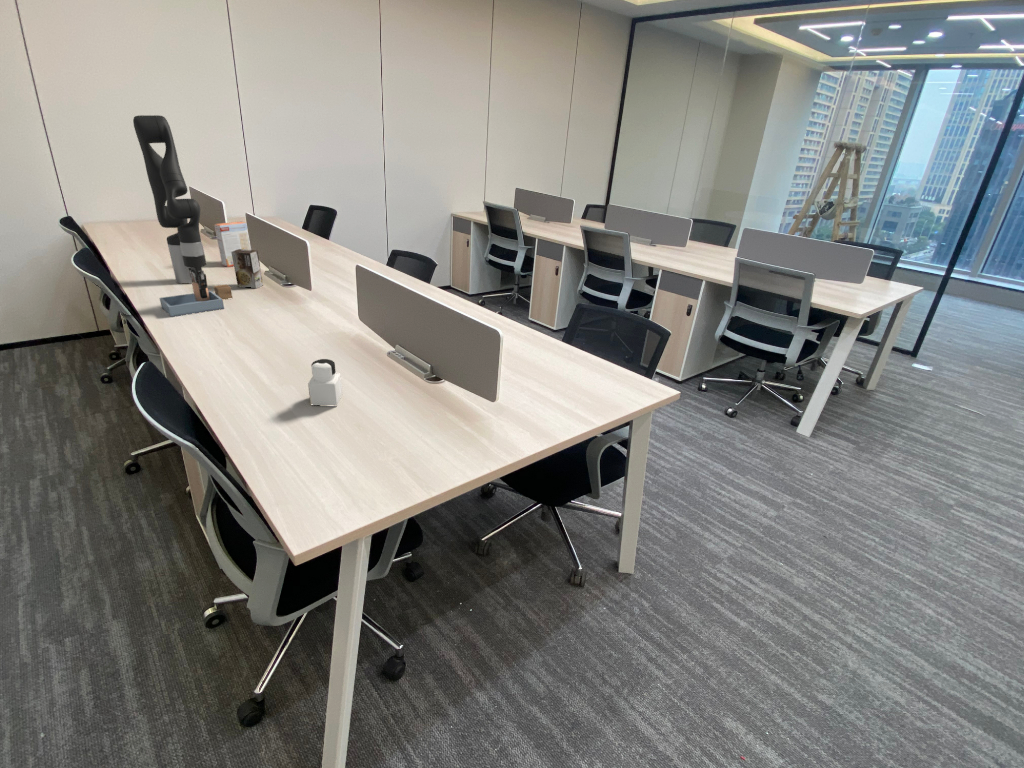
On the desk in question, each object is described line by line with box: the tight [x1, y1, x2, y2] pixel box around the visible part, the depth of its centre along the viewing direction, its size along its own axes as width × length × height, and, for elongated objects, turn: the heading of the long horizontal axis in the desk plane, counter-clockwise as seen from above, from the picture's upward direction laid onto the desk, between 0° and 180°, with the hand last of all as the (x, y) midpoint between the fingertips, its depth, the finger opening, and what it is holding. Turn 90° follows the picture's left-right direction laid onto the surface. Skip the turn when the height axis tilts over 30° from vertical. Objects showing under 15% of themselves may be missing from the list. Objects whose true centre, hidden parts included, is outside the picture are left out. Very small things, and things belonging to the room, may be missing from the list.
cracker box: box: [213, 221, 252, 268], centre depth 263 cm, size 14×6×21 cm, turn 144°
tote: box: [159, 290, 225, 318], centre depth 202 cm, size 14×19×4 cm
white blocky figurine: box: [307, 358, 343, 406], centre depth 141 cm, size 7×7×12 cm
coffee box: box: [231, 249, 264, 289], centre depth 231 cm, size 9×6×16 cm
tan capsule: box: [191, 282, 210, 301], centre depth 203 cm, size 5×5×7 cm
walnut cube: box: [213, 283, 233, 300], centre depth 216 cm, size 5×5×5 cm
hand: (202, 295), depth 204 cm, fingers closed on tan capsule, 5 cm apart
